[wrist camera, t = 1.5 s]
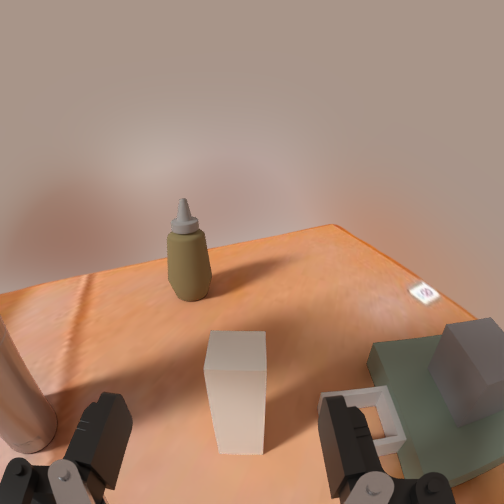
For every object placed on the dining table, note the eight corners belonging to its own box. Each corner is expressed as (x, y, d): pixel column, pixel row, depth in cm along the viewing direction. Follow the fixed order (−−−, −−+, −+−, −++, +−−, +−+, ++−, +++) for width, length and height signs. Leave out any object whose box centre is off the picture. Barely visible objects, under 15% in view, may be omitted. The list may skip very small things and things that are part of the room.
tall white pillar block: (219, 453, 27) (203, 369, 21) (222, 420, 31) (210, 330, 25) (262, 454, 27) (266, 370, 21) (262, 421, 31) (265, 331, 25)
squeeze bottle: (196, 310, 51) (186, 208, 44) (162, 297, 55) (148, 203, 47) (221, 288, 58) (216, 195, 50) (188, 279, 61) (179, 192, 54)
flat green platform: (334, 520, 19) (369, 482, 14) (310, 368, 39) (320, 301, 34) (513, 456, 18) (565, 398, 14) (453, 350, 38) (477, 292, 34)
